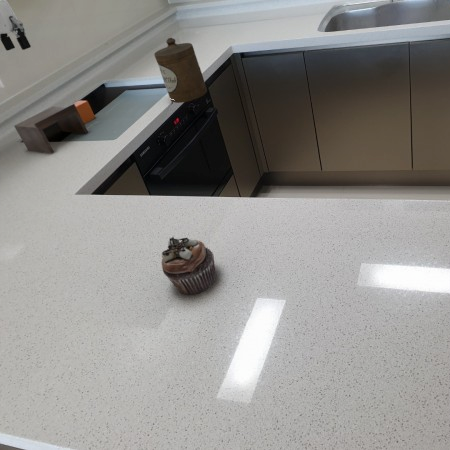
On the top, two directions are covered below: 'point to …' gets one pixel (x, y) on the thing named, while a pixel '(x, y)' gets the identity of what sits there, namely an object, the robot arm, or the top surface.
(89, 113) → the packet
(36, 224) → the top surface
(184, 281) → the cupcake
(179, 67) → the wooden container
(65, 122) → the shelf
